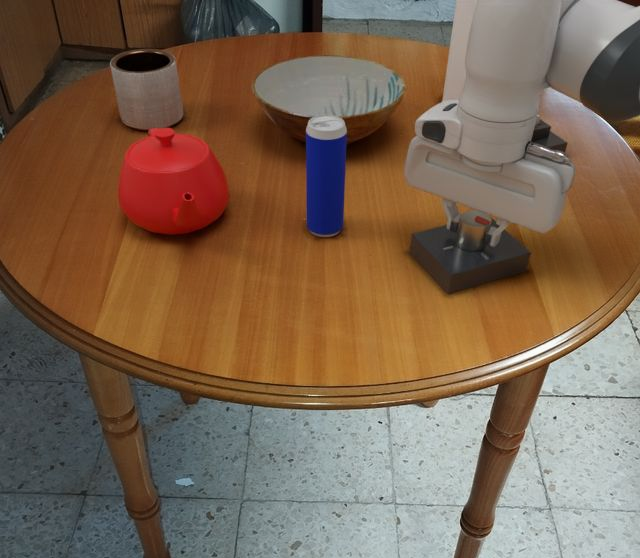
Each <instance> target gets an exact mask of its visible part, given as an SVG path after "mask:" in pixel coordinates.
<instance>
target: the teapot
mask: <svg viewBox="0 0 640 558" xmlns="http://www.w3.org/2000/svg"><path fill="white" fill-rule="evenodd" d="M147 135H148V136H145V137H143V138H141V139H139V140H137V141H136V142H134V143H132V144H131V145H130V146H129V147H128V149H126V150H125V153H124V156H123V161H122V164H121V168H120V172H119V178H118V190H117V193H118V194H117V197H118V205H119V207H120V209H121V210H122V212H123V214H125V216H126V217H127V218H128V220H129V222H131V223H132V224H134V226H135V225H136V226H137V227H140V228H142V229H144V230H146V231H148V232H151V233H154V234H161V235H167V236H171V235H172V236H173V235H186V234H190V233H192V232H196V231H199V230H202V229H204V228H207V226H209V225H211V224H212V223H214V222H215V221H217V220H218V219H219V218H220V217H221V216H222V214H223V213H224V211H225V210H226V208H227V207H228V205H229V203H230V202H229V201H230V195H231V194H230V188H229V183H228V178H227V175H226V173H225V170H224V169H223V166H222V165H221V163H220V162H219V159H218V158H217V156H216V155H215V153H214V152H213V150H212V149H211V147H210V146H209V145H208V144H207V142H205V141H204V140H203V139H202V138H200V137H197V136H193V135H191V134H185V133H177V132H175V130H174V129H173V128H172V127H169V128H160V129H158V128H153V129H151V130H149V131H147Z"/></svg>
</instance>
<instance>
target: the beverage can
mask: <svg viewBox="0 0 640 558" xmlns="http://www.w3.org/2000/svg"><path fill="white" fill-rule="evenodd" d="M346 141H347V129H346V125H345V122H344V120H343V119H341V118H340V117H337V116H334V115H318V116H315V117H313V118H311V119H310V120H309V122H308V125H307V128H306V143H305V159H306V160H305V177H306V178H305V179H306V180H305V182H306V183H305V184H306V186H305V187H306V191H305V192H306V200H305V201H306V228H307V229H308V231H309V232H310V233H311V234H312V235H314V236H316V237H320V238H331V237H334V236H336V235H338V234H339V233H340V232H341V231H342V230H343V228H344V220H345V219H344V214H345V190H346V165H347V163H346V162H347V145H346Z"/></svg>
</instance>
